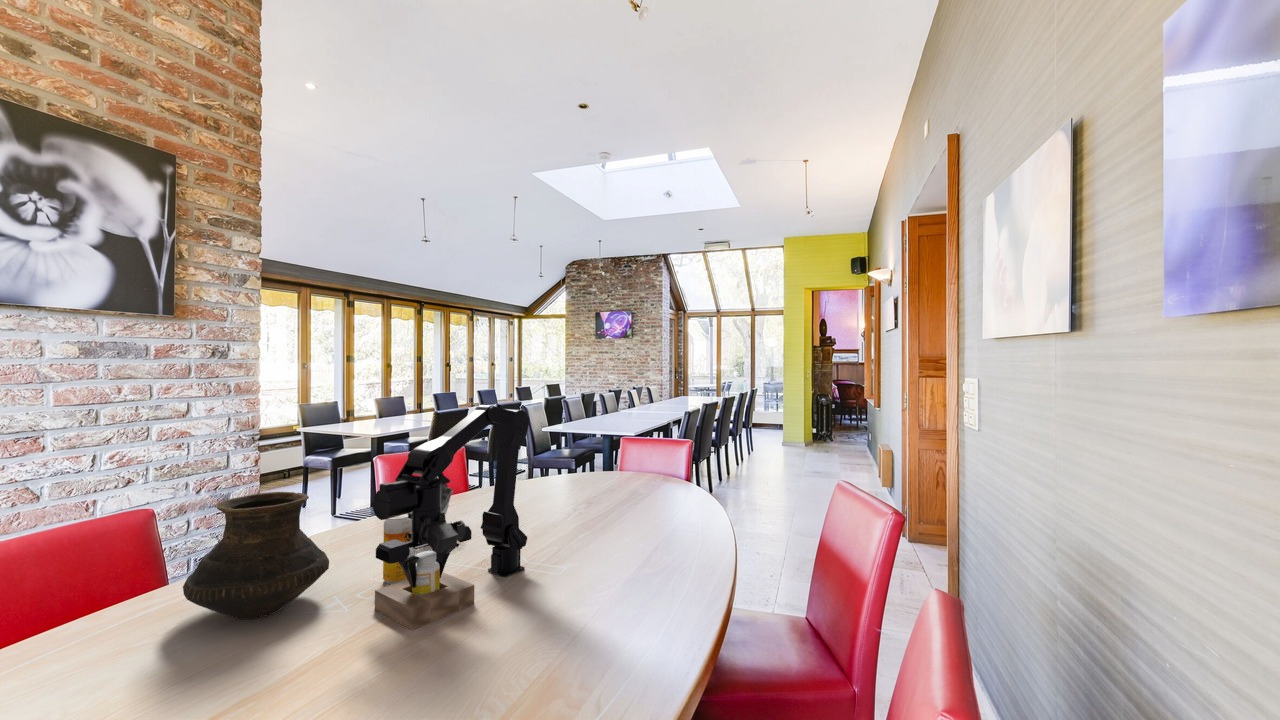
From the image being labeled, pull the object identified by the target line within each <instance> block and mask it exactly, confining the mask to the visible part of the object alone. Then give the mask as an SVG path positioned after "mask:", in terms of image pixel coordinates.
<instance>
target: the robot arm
mask: <svg viewBox="0 0 1280 720" xmlns="http://www.w3.org/2000/svg"><path fill="white" fill-rule="evenodd" d="M490 425H491V426H493V434H494V436H495V439H496V440H497V444H498V449H497V450H498V451H497V458H496V459H497V461H496V469H495V478H494V479H495V481H494V490H493V497H492V498H493V500H492V504H491V506H490V508H489V509H488V510H487V511H483V512H482V516H481V517H482V520H481V521H482V522H481V526H480V529H481V530H482V535H483V537H484V538H485V541H486V544H487V546H492V548H491V549H492V552H491V554H490V567H489V568H488V569H487V571H488V572H489V573H491V574H494V575H497V576H500V577H503V578H506V577H509V576H512V575H514V574H517V573H518V572H521V571H525V566H523V565H521V549H523V548H524V547H526V545H527V542H528V535H526V533H524V532H523V531H522V530H521V529H520V521H519V520H520V519H519V518H520V517H519V514H518V512H517V510H516V506H515V493H516V484H517V473H518V464H519V453H520V446H521V444H522V443H523V441H524V440H525V438H526V437H527V435H528V429H529V425H530V417H529V415H528V414H527V412H526V411H525V410H523V409H513V408H512V409H511V408H501V407H497V406H496V405H491V404H488V405H487V404H479V405H478V406H476V407H475V408H474V410H473V411H472V412H471V413H469V414H468V415H466V416H465V417H464V418H463V419H461V420H460V421H459V422H457V424H455V425H454V426H452V427H451V428H450V429H449V430H447V431H446V432H445V433H443V434H442V435H440V436H438V437H437V438H435V439H432V440H428V441H425V442H424V443H422V444H420V445H418V446H416V447H414V448H413V449H411V450H410V452H409V453H408V454H407V460H406V462H404V465H402V468H401V470H400V471H399V473H398V474H397V477H395V481H393V482H383V483H380V484H379V490H378V491H376V493H375V494H374V496H373V499H372V503H371V504H372V510H373V513H374V515H375V516H376V517H377V518H378V519H379V520H380V521H381V520H382V521H385V519H389V518H393V517H396V516H400V515H404V514H408V518H410V519H412V526H411V532H409V533H408V538H410V539H411V541H408V542H405V543H404V542H402V541H399V540H396V539H395V540H391V541H387V542H384V541H383V542H381V543H379V544H378V545H377V546H376V548H375V559H377V560H380V561H382V562H383V561H384V562H386V563H389V564H392V563H396V562H399V564H400V566H401V567H402V569H403V571H404V573H405V575H406V577H407V580H408V582H409V584H410V586H411V587H412V588H415V586H416V564H417V563H416V562H417V561H418V559H419V557H417V556H416V554H415V550H418V549H422V548H425V547H428V546H429V547H430V548H431V549H432V551H434V552H436V562H438V563H439V565H440V578H441V575H442V572H444V569H445V567H446V564H447V561H448V559H449V556H450V554H451V553H452V552H453V551H454V550H455V549H457V548H458V547H459V546H460V543H463V542H464V543H465V542H467V541H470V540H472V529H471V527H470V526H468V525H466V523H465V522H464V521H463V520H457V521H453V522H447V520H446V515H445V513H444V512H441V485H442V484H447V485H448V484H449V483H451V479H449V478H448V477H447V476H445V475H444V472H445V471H446V470H447V468H449V466H450V465H451V464H452V463H453V461H454V458H455V454H456V453H458V451H460V450H461V449H462V448H464V447H465V445H467V444H468V443H469V442H470V441H471V440H472V439H474V438H475V437H476V436H478V435H479V434H480V433H481V432H482V431H483V430H485V428H488V427H489V426H490ZM413 474H414V475H413ZM457 542H459V543H457Z"/></svg>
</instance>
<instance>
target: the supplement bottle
mask: <svg viewBox="0 0 1280 720" xmlns="http://www.w3.org/2000/svg"><path fill="white" fill-rule="evenodd" d="M415 556H417V557H419V559H418V561H417V562H416V586H415V588H412V594H415V595H417V596H419V597H421V596H423V595H426V594H429V593H432V592H434V591H437V590H440V565H439V563H438V562H436V552H434V551H433V550H425V551H421V552H418V553H416V554H415Z"/></svg>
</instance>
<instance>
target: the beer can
mask: <svg viewBox="0 0 1280 720" xmlns="http://www.w3.org/2000/svg"><path fill="white" fill-rule="evenodd" d="M411 526H412V519H410V518H408V514H404V515H400V516H396V517H393V518H389V519H385V520H383V543H384V542H387V541H391V540H395V539H396V540H399V541H402V542H404V543H405V542H408V541H411V539H410V538H408V533H409V532H411ZM382 569H383V570H382V571H383V572H382V580H383V581H384V582H385V583H386V584H388V585H392V584H395V583H398V582H401V581H404V580H407V577H406V575H405V573H404V571H403V569H402V567H401V566H400V564H399V562H396V563H392V564H389V563H386V562H384V561H382Z"/></svg>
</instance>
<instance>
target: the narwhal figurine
mask: <svg viewBox="0 0 1280 720" xmlns="http://www.w3.org/2000/svg"><path fill="white" fill-rule="evenodd" d="M453 492H454V489H453V488H451V487H448V483H447V484H442V485H441V512H444V513H445V516H446V514H447V513H448V512H447V511H448V508H449V504H450V501H451V498H452V495H453Z"/></svg>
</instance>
